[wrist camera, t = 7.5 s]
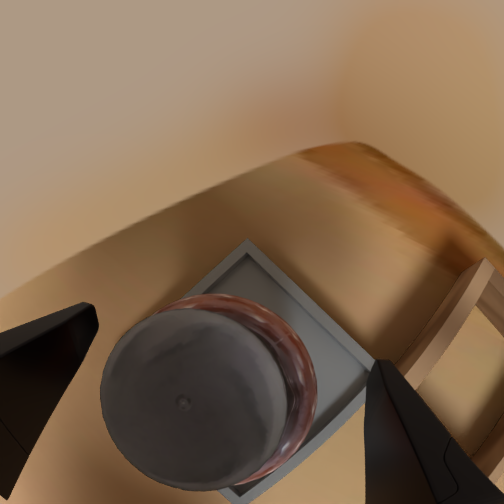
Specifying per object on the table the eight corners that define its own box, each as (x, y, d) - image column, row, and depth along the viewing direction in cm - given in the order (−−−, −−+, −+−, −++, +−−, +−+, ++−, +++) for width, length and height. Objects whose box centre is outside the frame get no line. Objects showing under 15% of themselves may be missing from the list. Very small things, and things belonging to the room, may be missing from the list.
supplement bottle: (166, 380, 16) (24, 380, 6) (238, 305, 18) (182, 204, 7) (245, 453, 15) (197, 567, 4) (321, 375, 16) (398, 384, 5)
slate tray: (242, 499, 14) (239, 509, 13) (120, 366, 18) (108, 365, 16) (381, 374, 16) (389, 374, 15) (249, 247, 20) (247, 238, 18)
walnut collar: (460, 487, 13) (482, 499, 10) (363, 399, 16) (379, 404, 13) (539, 364, 15) (565, 360, 12) (461, 272, 18) (484, 257, 15)
